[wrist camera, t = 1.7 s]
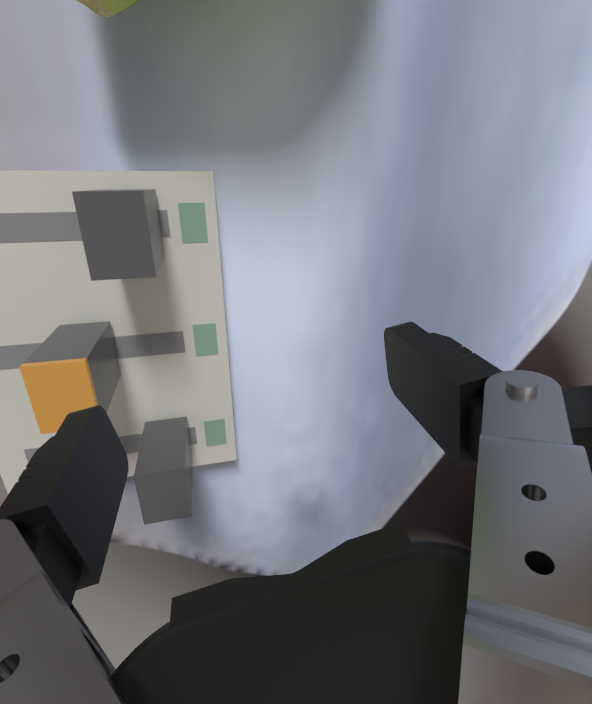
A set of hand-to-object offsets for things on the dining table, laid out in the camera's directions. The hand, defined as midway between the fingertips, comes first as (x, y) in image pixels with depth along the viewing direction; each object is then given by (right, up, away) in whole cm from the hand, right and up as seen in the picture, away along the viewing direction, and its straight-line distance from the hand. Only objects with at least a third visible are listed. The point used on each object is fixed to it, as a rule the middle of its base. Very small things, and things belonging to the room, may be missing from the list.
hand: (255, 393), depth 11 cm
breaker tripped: (-13, +1, +15) cm, 20 cm away
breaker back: (-9, -6, +19) cm, 22 cm away
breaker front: (-9, +9, +13) cm, 18 cm away
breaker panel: (-13, +2, +17) cm, 21 cm away
